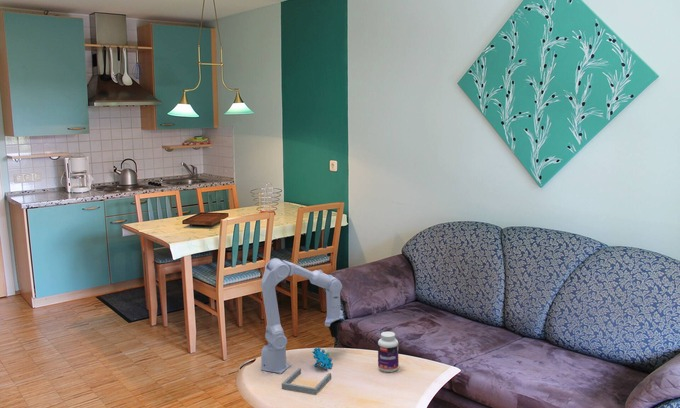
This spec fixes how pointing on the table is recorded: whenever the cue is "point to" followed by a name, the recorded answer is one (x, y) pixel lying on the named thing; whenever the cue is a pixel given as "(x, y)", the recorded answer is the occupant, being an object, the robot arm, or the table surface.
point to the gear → (322, 358)
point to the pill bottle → (388, 352)
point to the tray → (304, 389)
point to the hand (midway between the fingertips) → (334, 336)
